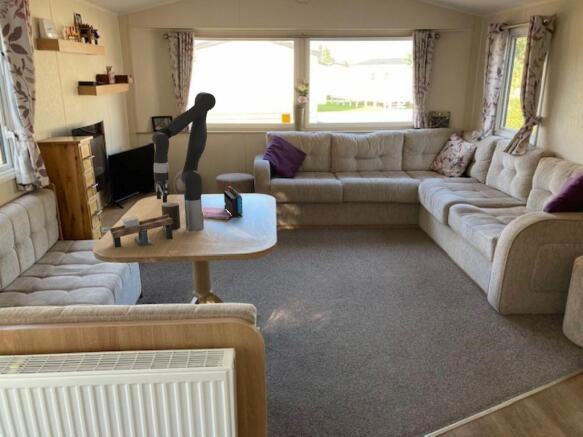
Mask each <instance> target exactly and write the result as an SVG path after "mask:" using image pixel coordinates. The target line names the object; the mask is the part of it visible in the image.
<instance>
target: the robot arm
mask: <svg viewBox="0 0 583 437" xmlns="http://www.w3.org/2000/svg"><path fill="white" fill-rule="evenodd" d="M216 103H217V100H216V96H215V95H214V94H212V93H211V92H206V91H201V92H198V93H197V94H196V95H195V98H194V103H193V106H191V107H190V108H188V109H187V110H185V111H183V112H182V113H180V114H179V115H177V116H175V117H174V118H173V119H172V120H171V121H170V122H169V123H167V124H166V125H165V126H163V127H161V128H160V129H158V130H157V131H156V132H155V133H153V135H152V136H151V139H152V143H153V144H154V145H155V151H154V153H153V180H154V191H155V192H156V200H161V199H162V204H164V203H168V196H169V195H170V188H169V186H170V185H169V183H167V181H169V179H170V174H169V168H170V167H169V149H170V139H171V138H173V137H175V136H177V135H178V134H180V132H182V131H183V130H184V129H186V128H187V127H188V126H191V127H190V131H189V136H188V142H187V148H186V151H187V152H186V157H185V162H184V165H183V169H182V173H181V181H182V183H183V184H184V186H185V192H184V195H183V199H184V202H183V204H184V215H185V230H187V231H194V232H195V231H200V230H202V229H205V224H204V220H205V219H204V212H203V209H202V207H203V206H202V195H203V194H202V193H203V181H202V180H203V179H202V176H201V174H200V173H199V172H198V169H199V162H200V159H201V158H202V155H203V153H204V151H205V149H206V145H207V144H206V143H207V139H208V129H207V118H208V117H207V116H208V113H209V111H211V110H212V109H214V108H215V107H216ZM190 124H191V125H190Z"/></svg>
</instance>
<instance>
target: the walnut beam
mask: <svg viewBox="0 0 583 437" xmlns="http://www.w3.org/2000/svg"><path fill="white" fill-rule="evenodd" d="M169 224H173V220H172V218H170V217H169V215H168V214H167V215H163V216H162V215H160V216H156V217H151V218H147V219H142V220H139V225H140V226H137V227H133V228H129V229H124V225H123V224H122V225H119V226H114V227H110V228H109V231H110V234H111V237H112V236H113V237H112V239H113V238H118V237H120V238H121V237H125V236H129V235H133V234H137V233H138V232H142V228H141V227H147V231H150V230H154V229H157V228H161V227H163V226H165V225H169Z"/></svg>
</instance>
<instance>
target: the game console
mask: <svg viewBox="0 0 583 437" xmlns="http://www.w3.org/2000/svg"><path fill="white" fill-rule="evenodd" d="M226 189H227V190H224V191H223V202H224V206H223V207H224V210H225V209H227V210H228V211H229V212H230V213H231V215H232V216H231V215H230V216H231V218H239V217H238V216H240V217H244V216H243V214H244V213H243V197H242V194H240V193H239V192H238V190H237V191H236V189H234V188H233V187H232V186H231V185H228V186H226Z"/></svg>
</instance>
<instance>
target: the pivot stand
mask: <svg viewBox="0 0 583 437" xmlns="http://www.w3.org/2000/svg"><path fill="white" fill-rule="evenodd" d="M163 227H164V229H163V235H164V236H163V237H164V238H165V239H166V240H167V241H168V240H172V239H174V238H173V230H172V226H171V225H170V224H169V225H165V226H162V228H163ZM141 228H142V232H138V235H137V236H134V239H135V241H136V242H137V244H138V245H139V247H140V248H141V247H146V246H147V247H148V246H153V242H152V241H151V239H150V238H149V236H148V230H147V227H141ZM111 237H112V245H113V246H114V248H115V249H116V248H122V240H121V237H118V238H113V236H112V235H111Z"/></svg>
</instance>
